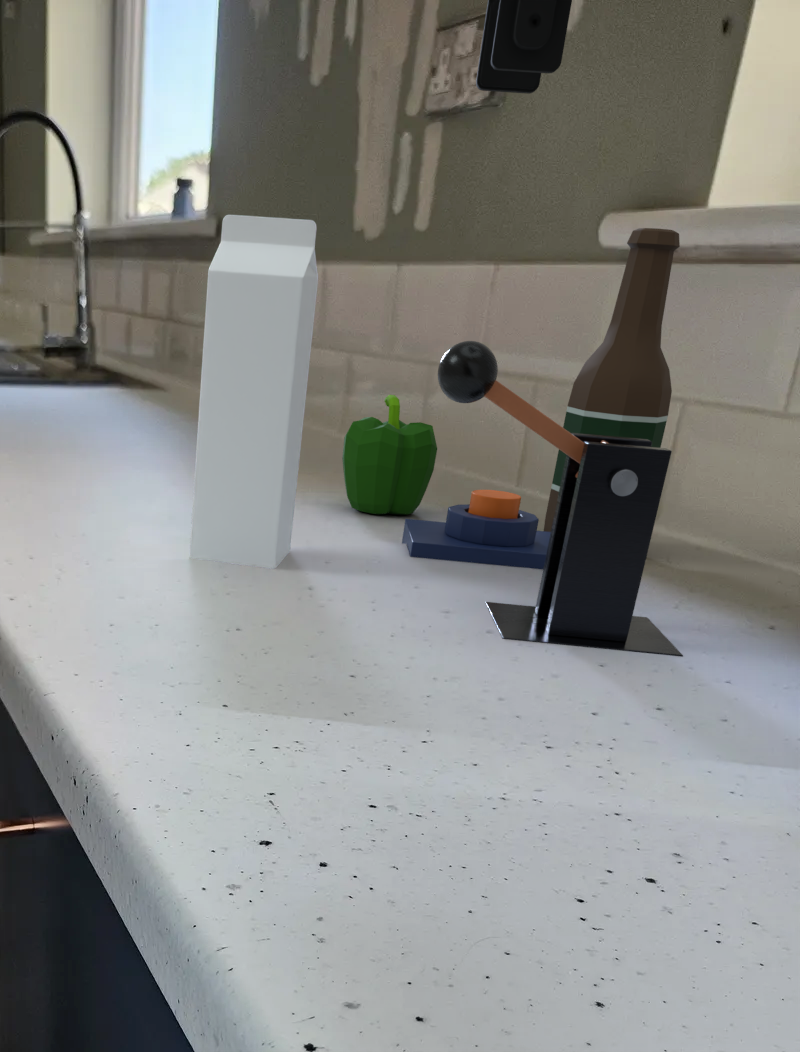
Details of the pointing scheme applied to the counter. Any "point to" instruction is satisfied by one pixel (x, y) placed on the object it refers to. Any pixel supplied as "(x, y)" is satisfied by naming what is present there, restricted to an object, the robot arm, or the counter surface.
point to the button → (494, 504)
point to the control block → (478, 539)
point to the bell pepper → (388, 463)
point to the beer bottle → (627, 358)
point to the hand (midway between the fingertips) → (515, 77)
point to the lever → (497, 393)
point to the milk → (253, 389)
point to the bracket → (597, 552)
